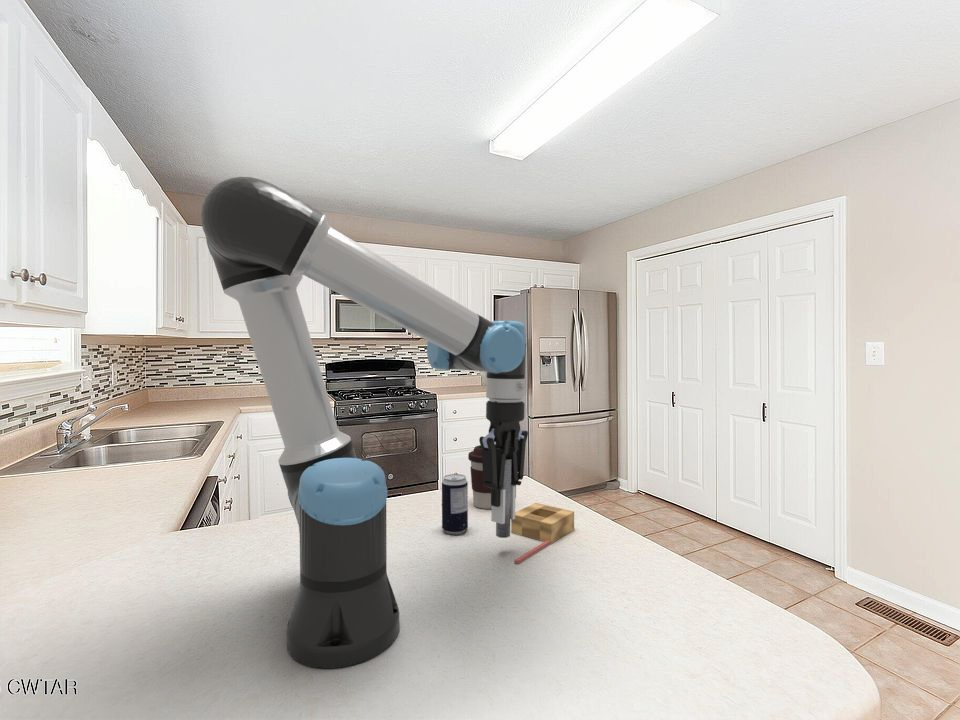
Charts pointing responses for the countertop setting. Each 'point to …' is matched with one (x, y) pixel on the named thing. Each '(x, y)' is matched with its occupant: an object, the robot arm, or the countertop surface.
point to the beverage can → (454, 503)
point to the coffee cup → (479, 480)
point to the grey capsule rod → (506, 502)
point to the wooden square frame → (543, 522)
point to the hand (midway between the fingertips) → (503, 519)
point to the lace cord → (532, 552)
